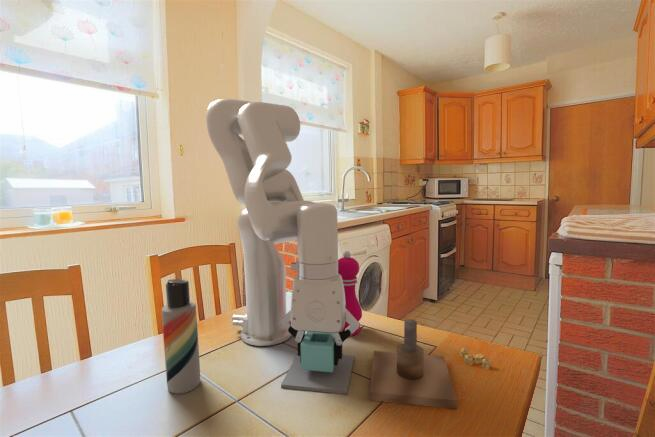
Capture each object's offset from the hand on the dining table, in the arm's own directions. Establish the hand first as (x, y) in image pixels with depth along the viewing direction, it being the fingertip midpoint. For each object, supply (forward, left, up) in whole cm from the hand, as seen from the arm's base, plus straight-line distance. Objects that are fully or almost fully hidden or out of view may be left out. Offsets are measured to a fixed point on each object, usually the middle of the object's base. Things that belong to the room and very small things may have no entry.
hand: (320, 359), depth 66 cm
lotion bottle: (-24, -8, -3) cm, 26 cm away
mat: (0, 0, -3) cm, 3 cm away
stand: (+17, 0, -3) cm, 17 cm away
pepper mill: (+3, +19, -3) cm, 20 cm away
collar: (0, 0, -1) cm, 1 cm away
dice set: (+30, +9, -4) cm, 32 cm away
